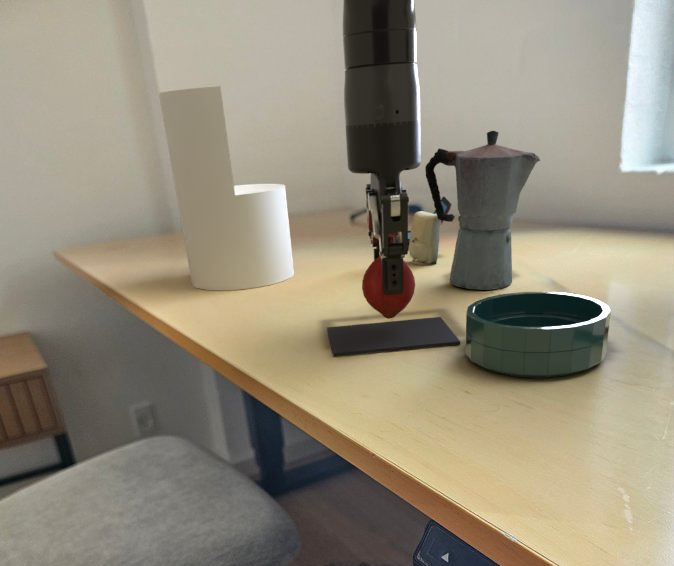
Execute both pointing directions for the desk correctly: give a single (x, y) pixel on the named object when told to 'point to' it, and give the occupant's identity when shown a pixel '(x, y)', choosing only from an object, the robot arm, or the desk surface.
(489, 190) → the moka pot
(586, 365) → the bowl
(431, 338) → the mat
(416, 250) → the cream rounded pillar
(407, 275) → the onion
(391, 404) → the desk surface
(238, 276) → the white cylindrical chair
